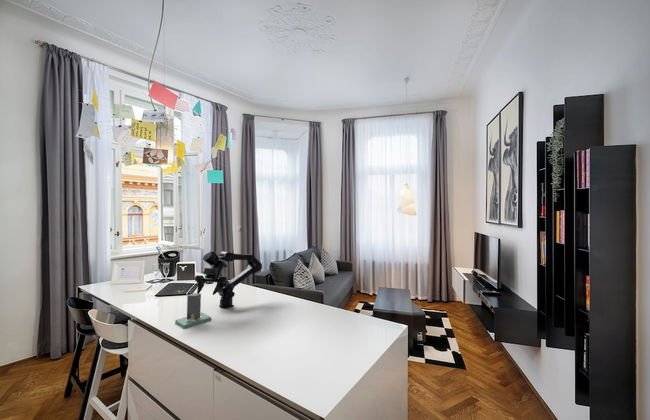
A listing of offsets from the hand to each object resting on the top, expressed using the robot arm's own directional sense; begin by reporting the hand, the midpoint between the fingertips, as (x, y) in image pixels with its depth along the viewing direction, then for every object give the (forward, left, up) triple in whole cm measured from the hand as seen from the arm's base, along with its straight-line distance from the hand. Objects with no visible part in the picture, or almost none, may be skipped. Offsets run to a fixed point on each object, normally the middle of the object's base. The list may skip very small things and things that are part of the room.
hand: (205, 294), depth 145 cm
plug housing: (+7, +1, -11) cm, 13 cm away
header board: (+7, +1, -13) cm, 14 cm away
